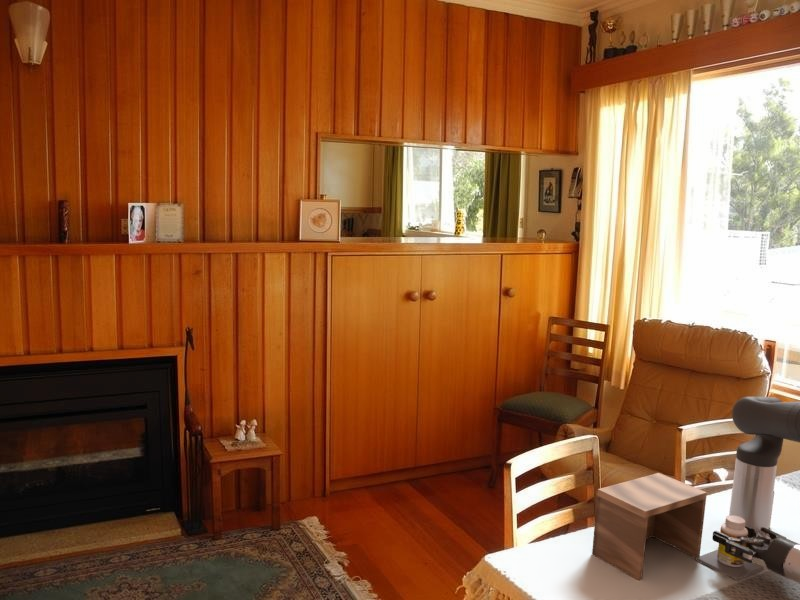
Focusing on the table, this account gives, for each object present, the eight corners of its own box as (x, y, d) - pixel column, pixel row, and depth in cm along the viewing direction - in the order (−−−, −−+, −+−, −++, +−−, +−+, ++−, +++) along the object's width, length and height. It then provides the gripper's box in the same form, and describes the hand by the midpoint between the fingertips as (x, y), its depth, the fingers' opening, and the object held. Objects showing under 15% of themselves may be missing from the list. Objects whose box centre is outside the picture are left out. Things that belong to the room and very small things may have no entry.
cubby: (652, 533, 183) (658, 472, 181) (699, 557, 173) (706, 492, 170) (592, 554, 172) (597, 489, 169) (638, 580, 161) (645, 511, 159)
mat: (722, 549, 177) (722, 547, 177) (763, 568, 168) (763, 566, 168) (696, 560, 171) (696, 557, 171) (736, 580, 163) (736, 577, 163)
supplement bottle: (734, 570, 166) (739, 526, 164) (711, 559, 170) (716, 516, 169) (749, 564, 169) (754, 521, 167) (726, 553, 173) (731, 511, 172)
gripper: (816, 537, 160) (745, 508, 174) (778, 553, 152) (707, 521, 166) (812, 570, 161) (741, 539, 175) (774, 588, 154) (703, 553, 167)
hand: (725, 530), depth 170 cm, fingers open, 8 cm apart
